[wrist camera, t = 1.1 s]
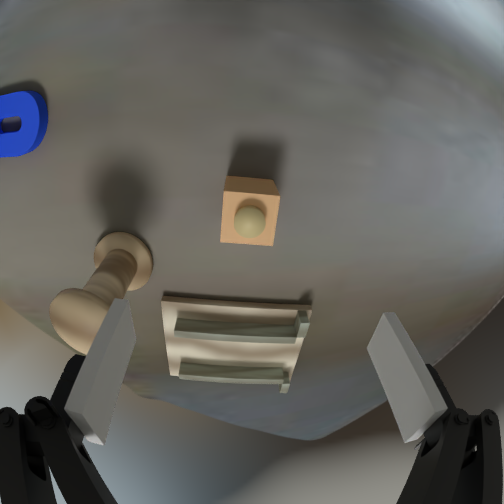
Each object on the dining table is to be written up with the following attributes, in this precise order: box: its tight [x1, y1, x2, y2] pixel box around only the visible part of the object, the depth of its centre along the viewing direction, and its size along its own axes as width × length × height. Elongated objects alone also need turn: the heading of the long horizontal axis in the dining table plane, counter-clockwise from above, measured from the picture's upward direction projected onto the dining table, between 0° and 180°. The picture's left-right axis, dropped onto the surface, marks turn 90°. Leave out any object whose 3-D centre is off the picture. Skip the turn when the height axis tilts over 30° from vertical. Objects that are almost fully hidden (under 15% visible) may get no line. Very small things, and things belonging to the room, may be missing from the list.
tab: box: [220, 176, 280, 246], centre depth 29 cm, size 5×5×7 cm
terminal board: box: [161, 296, 312, 393], centre depth 40 cm, size 16×20×4 cm
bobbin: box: [49, 232, 153, 355], centre depth 29 cm, size 8×8×13 cm
